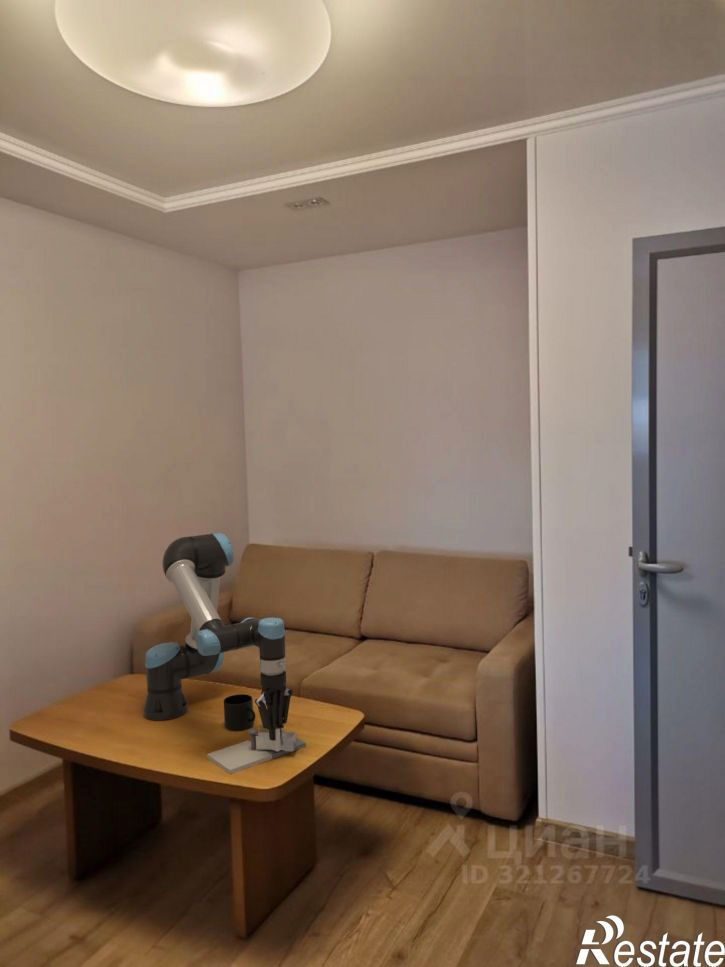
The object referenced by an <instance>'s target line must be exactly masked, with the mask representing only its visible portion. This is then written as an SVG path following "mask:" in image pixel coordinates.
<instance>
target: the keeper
mask: <svg viewBox="0 0 725 967" xmlns="http://www.w3.org/2000/svg"><path fill="white" fill-rule="evenodd" d="M259 732H262V733H269V730H268V729H265V728H263V725H262V723H259Z"/></svg>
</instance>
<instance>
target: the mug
mask: <svg viewBox="0 0 725 967" xmlns="http://www.w3.org/2000/svg"><path fill="white" fill-rule="evenodd" d="M253 700H254V698H253V696H251V695H249V694H243V693H241V694H240V693H238V694H237V693H236V694H233V695H229V696H227V697H225V698H224V699H223V714H224V716H223V717H224V727H225V729H226V730H228V731H230V732H243V731H245V730H247V731H248V730H249V729H252V727H253V726H254V723H255V722H254V721H255V720H256V713H255V711H254V705H253V703H254V702H253Z"/></svg>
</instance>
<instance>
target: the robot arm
mask: <svg viewBox="0 0 725 967" xmlns="http://www.w3.org/2000/svg"><path fill="white" fill-rule="evenodd" d="M233 562H234V551H233V546H232V544H231V541H230V539H229V537H227V535H225V534H224V533H221V532H218V533H213V532H210V533H208V534H200V535H199V534H198V535H192V536H183V537H179V538H176V539H175V540H173V541H172V542H171V543H170V544H169V545H168V547H167V548H166V549H165V550H164V553H163V557H162V570H163V574H164V576H165V577H166V579H167V581H168V582H169V583H172V584H173V586H174V587H175V590H176V592H177V594H178V595H179V597H180V599H181V601H182V603H183V605H184V606H185V607H184V608H186V611H187V612H188V615H189V616H190V619H191V620H190V621H191V623H190V632H189V634H187V635H186V636H185V641H184V642H185V643H184V644H181V645H180V644H179V643H178V642H176V641H175V642H173V641H169V642H163V643H160V644H157V645H154V646H153V647H152V646H151V647H150V649H148V650H147V651H146V653H145V663H144V667H145V673H146V674H145V676H146V677H145V678H146V689H147V693H146V697H145V700H144V704H143V708H142V713H143V714H142V715H143V717H144V718H145V719H147V720H151V721H167V720H171V719H176V718H180V717H181V716H183V715H185V714H186V713H187V712H188V711H189V703H188V700H187V698H186V696H185V692H184V690H183V686H182V680H185V679H190V678H193V677H197V676H202V675H209V674H211V673H213V672H216V671H218V670H219V669H221V667H222V665H223V662H224V658H225V657H224V656H225V654H224V653H226V652H231V651H236V650H241V649H245V648H250V647H252V646H253V647H257V648H258V649H259V650H258V651H259V671H260V686H261V688H262V689H261V693H260V696H259V698H255V700H254V703H255V705H256V706H257V709H258V713H259V716H260V720H261V724H262V725H263V728H265V729H268V730H269V739H270V740H271V749H272V750H275V751H280V750H281V745H280V738H281V736H282V730H283V729H284V728H285V724H287V722H288V716H289V709H290V703H291V697H292V696H293V693H294V692H293V690H292V689H289V688H287V685H286V684H287V671H286V669H287V664H286V630H285V623H284V622H285V621H284V620H283V619H282V618H280V617H266V618H262V619H259V618H256V617H246V618H244V619H243V620H242V621H240V622H238V623H233V624H227V625H225V624H224V622H223V621H222V619H221V617H220V615H219V613H218V606H219V594H220V593H219V592H220V584H221V583H220V582H221V578H223V576H225V574H226V568H227V567H230V566H232V565H233Z"/></svg>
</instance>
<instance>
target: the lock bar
mask: <svg viewBox="0 0 725 967" xmlns="http://www.w3.org/2000/svg"><path fill="white" fill-rule="evenodd" d="M296 738H297V732H296V731H287V733H282V736H281V738H280V745H281V750H284V751H292V752H294V751H293V750H294V748H295V747H296ZM256 749H265V750H272V749H271V740H270V739H269V733H262V732H260V731H258V733H257V734H256Z"/></svg>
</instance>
